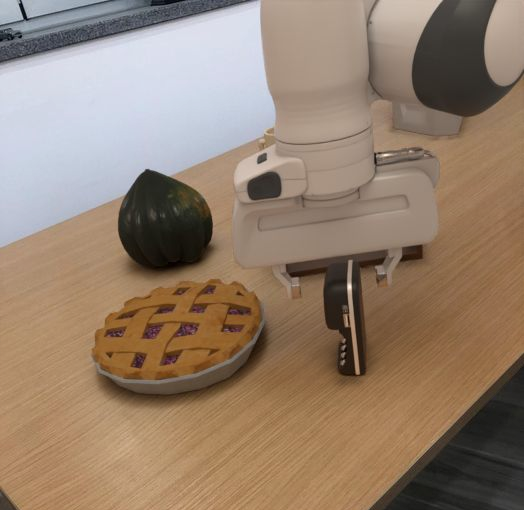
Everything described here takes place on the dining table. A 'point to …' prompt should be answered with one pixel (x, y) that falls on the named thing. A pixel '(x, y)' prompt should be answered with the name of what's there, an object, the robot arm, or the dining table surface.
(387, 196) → the robot arm
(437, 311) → the dining table surface
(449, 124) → the paper bag
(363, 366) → the battery charger
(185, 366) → the pie
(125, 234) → the squash
